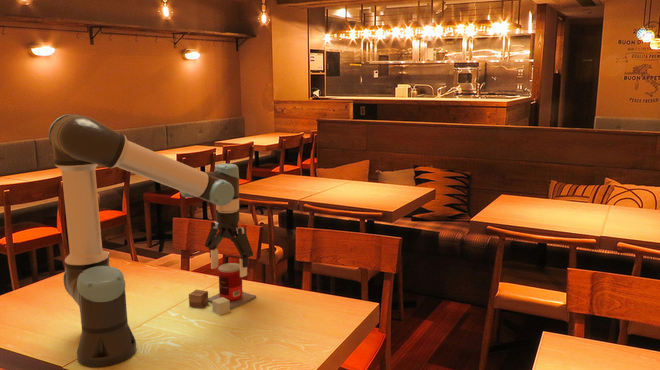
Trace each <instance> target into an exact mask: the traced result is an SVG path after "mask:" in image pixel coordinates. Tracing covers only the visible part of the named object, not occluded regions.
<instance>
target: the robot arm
mask: <svg viewBox="0 0 660 370" xmlns="http://www.w3.org/2000/svg"><path fill="white" fill-rule="evenodd" d="M48 129H49V130H48V141H49V144H50V145H51V147H52V150H53V151H52V153H53V160H54V166H55V167H56V168H57V169H59V170H60V171H61V180H62V187H63V188H62V189H63V198H64V199H63V200H64V209H65V218H66V229H67V238H68V249H69V250H68V251H69V254H68V255H66V257H65V258H64V268H65V270H64V273H63V277H62V278H63V286H64V289H65V291H66V292H67V293H68V295H69V296H70V297H71V298H72V299H73V300H74V301H75V303H76V304H77V305H78V307H79V313H80V315H79V316H80V324H81V334H80V338H79V341H78V346H77V350H76V358H77V361H78V363H79V364H80V365H82V366H85V367H91V368H100V367H109V366H112V365H117V364H120V363H122V362H125V361H126V360H128V359H130V358H131V357H132V356H134V355H135V353H136V352H137V341H136V338H135V336H134V334H133V332H132V330H131V328H130V325H129V322H128V321H129V320H128V311H127V298H126V297H127V296H126V280H125V276H124V273H123V272H122V270H120V269H119V268H117V267H114V266H111V265H110V254H109V255H108V253H106V252H105V251H106V250H104V249H103V243H102V242H103V241H102V234H101V233H102V231H101V219H100V209H99V206H100V205H99V196H98V187H97V186H98V185H97V176H96V175H97V174H96V173H97V172H96V168H97V167H98V166H103V167H105V168H108V169H115V168H118V169H121V170H125V171H127V172H130V173H132V174H135V175H137V176H140V177H142V178H145V179H148V180H151V181H153V182H156V183H159V184H161V185H163V186H167V187H170V188H172V189H175V190H178V191H179V194H180V195H181V197H183V198H186V199H188V198H189V199H190V198H191V199H193V198H199V199H200V200H204V201H206V202H209V203H211V204H212V205H215V210H216V212H215V213H216V214H215V215H216V216H215V219H216V220H215V221H213V222H211V223H210V229H209V232H208V235H207V237H206V241H205V243H204V247H205V248H208V250H209V259H210V269H211V270H214V269H217V268H219V249H218V246H219V244H220V243H221V241H222V240H223V239H227V240H230V241H231V242H232V243H233V245H234V247H235V248H236V250H237V252H238V253H239V255H240V257H239V264H240V277H241V278H242V279H243V277H246V276H248V267H249V258H251V257H253V256H254V252H253V249H252V246H251V244H250V241H249V238H248V235H247V231H246V227H245V226H243V227H239V222H240V211H239V210H240V175H239V174H240V173H239V172H240V170H239V166H238V165H237V164H234V163H218V164H216V165H215V168H214V170H213V171H206V172H205V171H201V170H199V169H197V168H195V167H192V166H190V165H187V164H185V163H182V162H181V161H178V160H176V159H173V158H171V157H169V156H165V155H164V154H161V153H159V152H156V151H154V150H151V149H149V148H146V147H144V146H141V145H139V144H137V143H135V142H132V141H130V140H128V138H127V137H126V135H125V134H123V133H120V132H118V131H117V130H114V129H112V128H110V127H109V126H107V125H105V124H103V123H101V122H100V121H98V120H96V118H92V117H90V116H85V115H82V114H79V113H78V114H77V113H70V114H64V115H61V116H59V117H58V118H56V119H55V120H54V121H53V122H52V123H51V125H50V127H49V128H48Z"/></svg>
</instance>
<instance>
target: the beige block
mask: <svg viewBox="0 0 660 370" xmlns="http://www.w3.org/2000/svg"><path fill="white" fill-rule="evenodd" d="M211 304H212V305H211V306H212V313H214V314H216V315H217V316H220V317H221V316H222V314H223V315H225V314H228V313H230V312H231V309H230V300H228V299H226V298H224V297H221V298H218V299H215V300H212V303H211Z"/></svg>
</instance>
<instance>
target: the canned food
mask: <svg viewBox="0 0 660 370" xmlns="http://www.w3.org/2000/svg"><path fill="white" fill-rule="evenodd" d="M217 270H218V288H219V290H218V291H219V293H220V298H221V297H224V298H226V299H228V300H230V302H231V301H236V300H239V299H240V298H241V297H242V294H243V293H242V292H243V277H242V278H241V277H240V263H236V262H228V263H224V264H221V265H218V269H217ZM219 293H218V294H219Z"/></svg>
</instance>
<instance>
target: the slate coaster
mask: <svg viewBox="0 0 660 370" xmlns="http://www.w3.org/2000/svg"><path fill="white" fill-rule="evenodd" d="M242 293H243V294H242V297H241V298H240V299H239V300H236V301H231V302H230V310H231V309H232V310H234V309H236V308H238V307H241V306H242V305H245V304H246V303H249V302H250V301H252V300H255V299H256V298H257V295H255V294H251V293H249V292H245V291H242ZM218 298H220V293H216V294H214V295H212V296H209V297H208V302H209V304H212V300H215V299H218ZM233 308H234V309H233Z"/></svg>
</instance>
